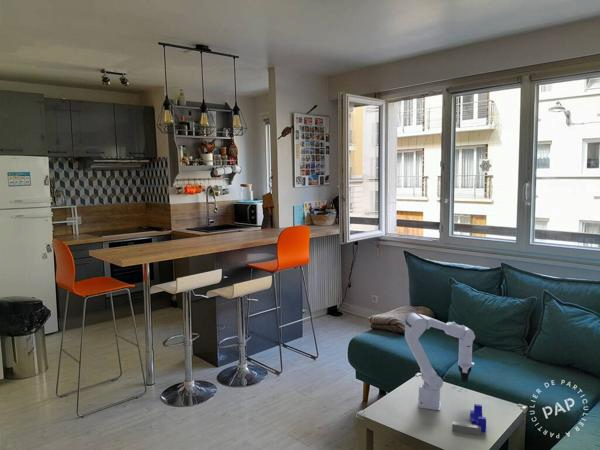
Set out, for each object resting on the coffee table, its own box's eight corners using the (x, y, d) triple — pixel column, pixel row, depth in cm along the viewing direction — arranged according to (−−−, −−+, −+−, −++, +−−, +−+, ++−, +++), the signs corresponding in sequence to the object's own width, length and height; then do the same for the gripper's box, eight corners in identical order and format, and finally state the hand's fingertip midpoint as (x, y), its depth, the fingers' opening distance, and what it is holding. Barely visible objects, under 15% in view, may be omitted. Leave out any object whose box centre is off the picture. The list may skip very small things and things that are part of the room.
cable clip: (470, 416, 199) (470, 403, 198) (481, 417, 198) (481, 404, 197) (474, 431, 187) (474, 418, 187) (485, 433, 186) (486, 419, 186)
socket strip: (452, 430, 188) (452, 424, 187) (452, 428, 190) (452, 421, 189) (480, 435, 184) (481, 428, 184) (480, 433, 186) (480, 426, 186)
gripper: (474, 360, 200) (474, 389, 202) (474, 348, 214) (473, 376, 215) (458, 358, 203) (457, 387, 204) (458, 346, 216) (457, 374, 218)
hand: (464, 381), depth 210 cm, fingers closed
